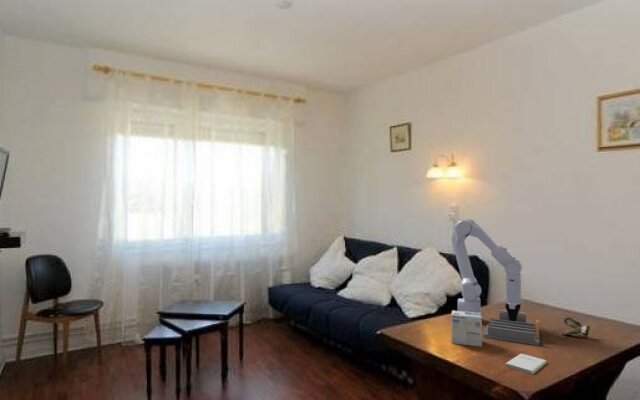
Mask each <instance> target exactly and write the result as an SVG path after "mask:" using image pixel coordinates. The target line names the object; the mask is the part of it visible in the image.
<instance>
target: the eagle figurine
mask: <svg viewBox="0 0 640 400" xmlns="http://www.w3.org/2000/svg"><path fill="white" fill-rule="evenodd" d="M563 322H564V324H565V325H567V326H568V327H570V328H573V329H567V330H566V331H564V332H561V333H560V334H561V335H563V336H568V335H574V336H575V335H577V334H578V335H579V334H581V335H583V336H584V337H585V338H586V339H587V338H589V337H588V336H589V334H590V333H589V332H590V329H591V324H589V325H583V326H582V324H581V323H580V322H579V321H576V319H574V318H572V317H568V316H567V317H565V318H564V319H563Z"/></svg>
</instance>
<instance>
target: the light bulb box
mask: <svg viewBox="0 0 640 400" xmlns="http://www.w3.org/2000/svg"><path fill="white" fill-rule="evenodd" d="M482 323H483V317H482V312H480V313H475V312H463V311H457V310H454V309H453V310H451V325H450V326H451V328H450V329H451V344H455V345H456V344H457V345H463V346H473V347H483V324H482Z"/></svg>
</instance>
